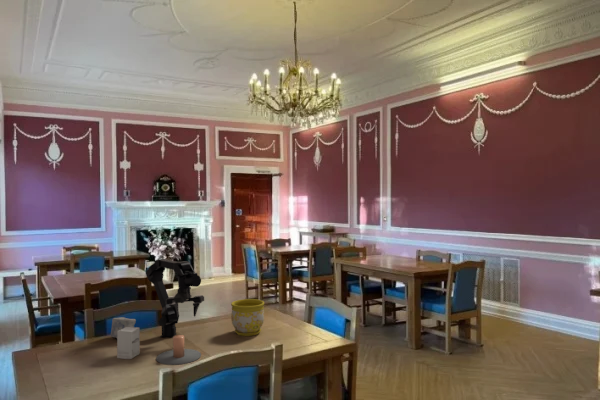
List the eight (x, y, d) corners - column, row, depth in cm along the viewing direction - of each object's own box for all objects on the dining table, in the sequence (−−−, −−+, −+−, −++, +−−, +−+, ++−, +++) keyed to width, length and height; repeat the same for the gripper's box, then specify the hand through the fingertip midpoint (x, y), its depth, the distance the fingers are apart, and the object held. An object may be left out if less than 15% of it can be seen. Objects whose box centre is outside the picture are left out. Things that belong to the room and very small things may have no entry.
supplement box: (131, 359, 209) (131, 331, 209) (116, 358, 210) (116, 330, 210) (140, 354, 216) (140, 327, 216) (125, 352, 218) (125, 326, 218)
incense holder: (136, 336, 243) (136, 317, 243) (124, 341, 235) (123, 321, 235) (122, 334, 247) (122, 315, 247) (110, 338, 240) (110, 318, 240)
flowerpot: (271, 331, 252) (271, 301, 252) (250, 339, 237) (250, 308, 237) (245, 326, 262) (245, 297, 262) (224, 334, 247) (224, 303, 247)
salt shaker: (171, 356, 212) (170, 336, 212) (180, 353, 216) (180, 334, 215) (177, 358, 209) (177, 339, 208) (186, 355, 212) (186, 336, 212)
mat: (148, 363, 204) (148, 362, 204) (168, 348, 224) (168, 347, 224) (190, 366, 200) (190, 365, 200) (207, 351, 220) (207, 350, 220)
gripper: (160, 289, 229) (161, 321, 228) (195, 287, 227) (197, 319, 226) (169, 286, 240) (171, 316, 239) (203, 284, 238) (205, 314, 237)
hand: (186, 316), depth 235 cm, fingers open, 9 cm apart
